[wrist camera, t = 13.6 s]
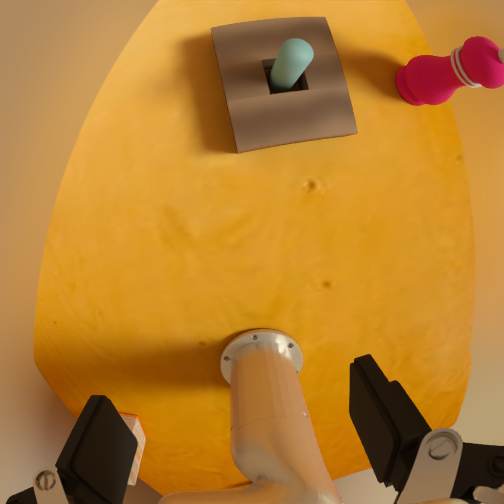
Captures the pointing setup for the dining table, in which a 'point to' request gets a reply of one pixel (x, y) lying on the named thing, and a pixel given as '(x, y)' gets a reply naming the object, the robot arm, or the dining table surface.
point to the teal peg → (289, 65)
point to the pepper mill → (451, 72)
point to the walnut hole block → (282, 104)
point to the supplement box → (139, 433)
